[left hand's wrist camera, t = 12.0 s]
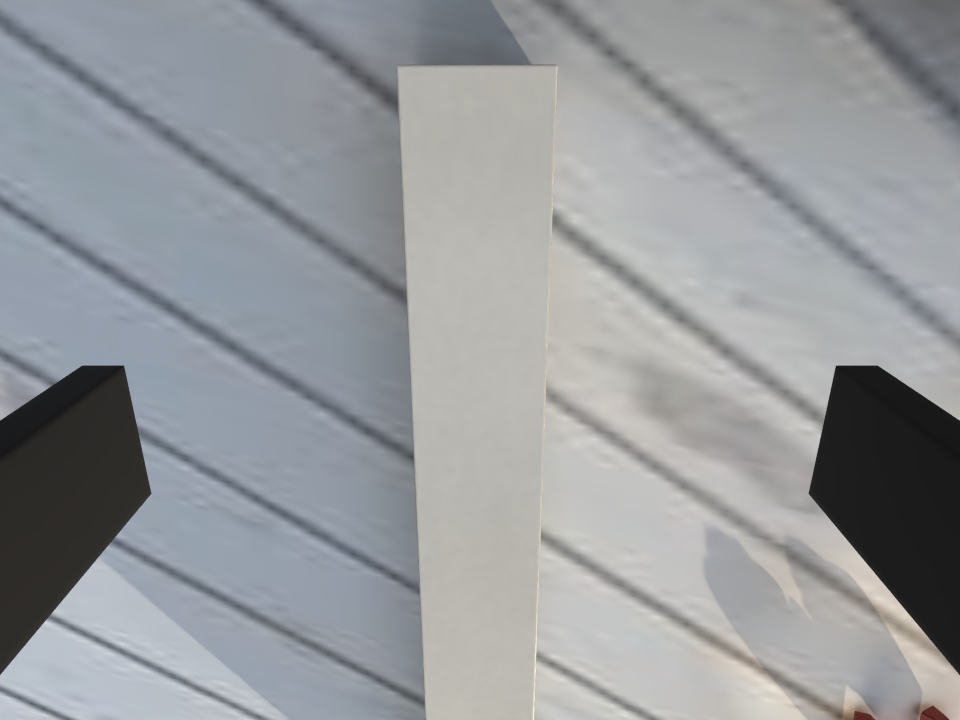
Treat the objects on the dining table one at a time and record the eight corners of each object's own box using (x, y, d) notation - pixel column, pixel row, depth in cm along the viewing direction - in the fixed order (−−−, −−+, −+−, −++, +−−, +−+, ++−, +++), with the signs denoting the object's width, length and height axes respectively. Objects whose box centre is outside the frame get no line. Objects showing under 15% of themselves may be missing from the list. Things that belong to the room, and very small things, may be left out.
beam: (414, 73, 31) (396, 64, 24) (539, 73, 31) (557, 64, 24) (442, 851, 52) (436, 974, 44) (517, 851, 52) (524, 973, 45)
